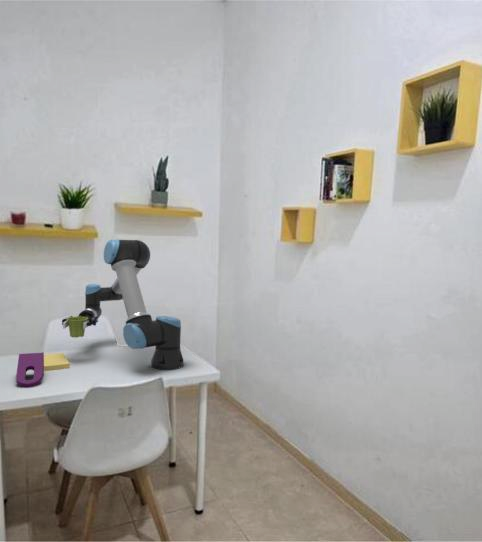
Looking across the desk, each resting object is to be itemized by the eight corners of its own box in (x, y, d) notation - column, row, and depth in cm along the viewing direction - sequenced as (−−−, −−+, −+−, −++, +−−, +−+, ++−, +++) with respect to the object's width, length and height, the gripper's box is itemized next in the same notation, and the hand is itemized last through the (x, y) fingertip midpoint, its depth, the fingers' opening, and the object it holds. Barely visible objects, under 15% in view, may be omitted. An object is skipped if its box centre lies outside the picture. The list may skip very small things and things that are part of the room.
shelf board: (69, 367, 191) (69, 363, 191) (40, 371, 184) (40, 366, 184) (62, 356, 208) (62, 352, 208) (35, 359, 202) (35, 355, 201)
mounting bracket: (42, 397, 170) (44, 367, 185) (41, 382, 166) (43, 352, 181) (15, 400, 167) (19, 369, 181) (14, 384, 163) (19, 353, 177)
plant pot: (70, 333, 204) (70, 316, 204) (90, 334, 205) (90, 316, 204) (63, 338, 195) (63, 319, 194) (84, 338, 196) (84, 320, 195)
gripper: (108, 324, 218) (97, 334, 196) (66, 323, 217) (50, 333, 194) (108, 310, 218) (97, 318, 195) (66, 309, 216) (50, 317, 194)
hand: (73, 325), depth 195 cm, fingers closed on plant pot, 8 cm apart
